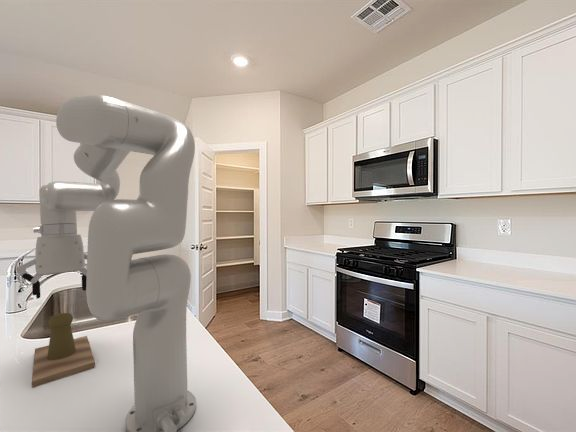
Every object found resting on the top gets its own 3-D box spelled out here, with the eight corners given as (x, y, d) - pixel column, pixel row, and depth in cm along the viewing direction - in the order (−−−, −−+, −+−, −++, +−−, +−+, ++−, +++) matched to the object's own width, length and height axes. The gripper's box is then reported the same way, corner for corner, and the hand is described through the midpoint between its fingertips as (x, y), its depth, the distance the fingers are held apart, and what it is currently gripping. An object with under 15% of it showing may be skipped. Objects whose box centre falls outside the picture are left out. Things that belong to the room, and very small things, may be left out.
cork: (59, 361, 72) (57, 319, 72) (41, 358, 73) (39, 317, 73) (81, 349, 78) (80, 311, 77) (64, 347, 79) (63, 309, 79)
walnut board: (95, 367, 71) (94, 361, 71) (31, 387, 63) (31, 381, 63) (87, 340, 86) (86, 335, 86) (35, 353, 79) (35, 348, 79)
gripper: (13, 233, 66) (16, 304, 67) (99, 228, 78) (102, 289, 78) (16, 232, 72) (19, 297, 72) (96, 228, 83) (98, 284, 84)
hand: (62, 293), depth 75 cm, fingers open, 9 cm apart
